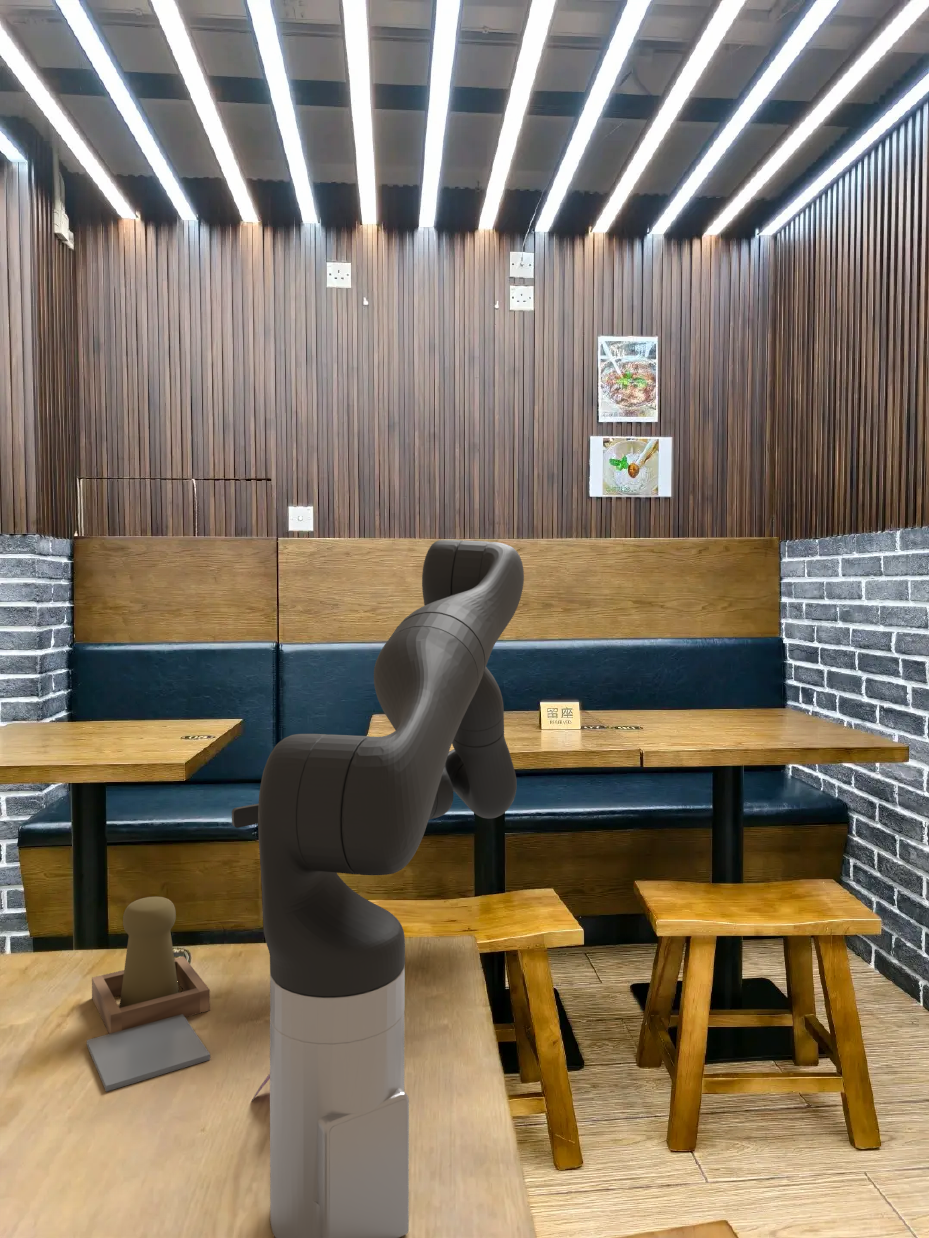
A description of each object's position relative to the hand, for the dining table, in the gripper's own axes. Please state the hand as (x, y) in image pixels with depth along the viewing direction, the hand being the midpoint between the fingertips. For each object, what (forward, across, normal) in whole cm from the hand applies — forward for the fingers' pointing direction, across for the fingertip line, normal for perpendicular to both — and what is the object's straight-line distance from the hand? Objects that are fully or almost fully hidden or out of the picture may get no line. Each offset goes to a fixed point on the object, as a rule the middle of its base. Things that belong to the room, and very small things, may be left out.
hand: (246, 827), depth 93 cm
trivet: (+14, +10, +16) cm, 24 cm away
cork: (+11, 0, +17) cm, 20 cm away
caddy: (+11, 0, +17) cm, 20 cm away
